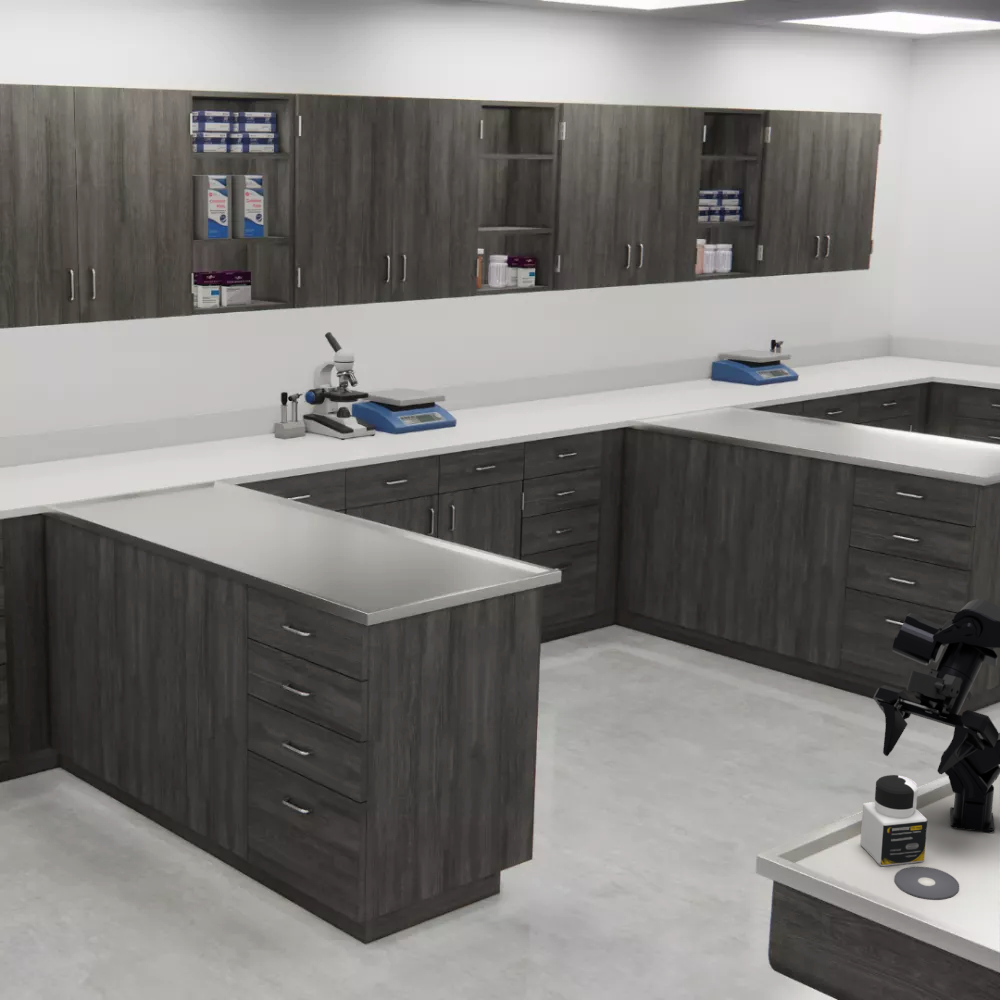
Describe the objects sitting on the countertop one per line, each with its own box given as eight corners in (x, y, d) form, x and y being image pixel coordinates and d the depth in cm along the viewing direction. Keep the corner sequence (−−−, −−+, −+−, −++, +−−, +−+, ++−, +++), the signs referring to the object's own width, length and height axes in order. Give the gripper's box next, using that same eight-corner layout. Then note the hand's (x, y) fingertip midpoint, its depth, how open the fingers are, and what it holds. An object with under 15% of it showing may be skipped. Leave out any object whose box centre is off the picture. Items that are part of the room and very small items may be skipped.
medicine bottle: (880, 867, 214) (885, 793, 211) (859, 844, 221) (864, 772, 218) (924, 862, 215) (930, 788, 212) (902, 840, 222) (907, 768, 219)
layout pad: (894, 864, 214) (895, 862, 214) (958, 872, 212) (958, 870, 212) (893, 894, 206) (894, 892, 206) (959, 903, 204) (960, 901, 204)
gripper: (883, 635, 224) (839, 721, 219) (994, 665, 211) (950, 757, 206) (907, 670, 231) (865, 754, 226) (1017, 702, 218) (974, 791, 213)
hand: (911, 763), depth 218 cm, fingers open, 9 cm apart
